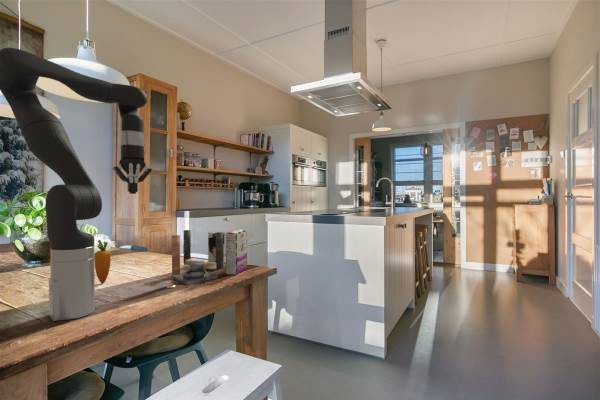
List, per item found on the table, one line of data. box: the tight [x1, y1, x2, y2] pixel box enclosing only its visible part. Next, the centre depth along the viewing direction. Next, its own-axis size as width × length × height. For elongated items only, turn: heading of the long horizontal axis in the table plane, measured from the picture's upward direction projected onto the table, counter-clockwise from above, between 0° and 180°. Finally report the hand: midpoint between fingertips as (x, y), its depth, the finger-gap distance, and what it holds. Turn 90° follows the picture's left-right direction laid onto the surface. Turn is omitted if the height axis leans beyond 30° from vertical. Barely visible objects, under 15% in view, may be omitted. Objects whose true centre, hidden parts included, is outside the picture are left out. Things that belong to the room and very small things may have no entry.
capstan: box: [171, 229, 224, 275], centre depth 117 cm, size 18×17×14 cm
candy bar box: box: [225, 229, 248, 276], centre depth 129 cm, size 11×5×16 cm, turn 168°
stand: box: [165, 269, 218, 289], centre depth 116 cm, size 18×13×3 cm
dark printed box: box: [207, 230, 226, 269], centre depth 136 cm, size 7×7×15 cm
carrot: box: [94, 239, 112, 284], centre depth 110 cm, size 5×5×15 cm
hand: (132, 193), depth 115 cm, fingers closed
